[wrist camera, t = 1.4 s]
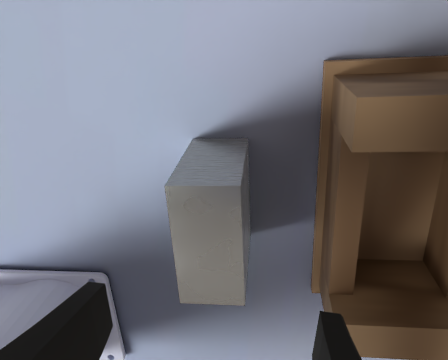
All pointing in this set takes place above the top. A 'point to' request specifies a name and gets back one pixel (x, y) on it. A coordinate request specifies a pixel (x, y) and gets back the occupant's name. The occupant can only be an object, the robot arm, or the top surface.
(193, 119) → the top surface
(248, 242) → the grey concrete block
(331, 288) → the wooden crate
